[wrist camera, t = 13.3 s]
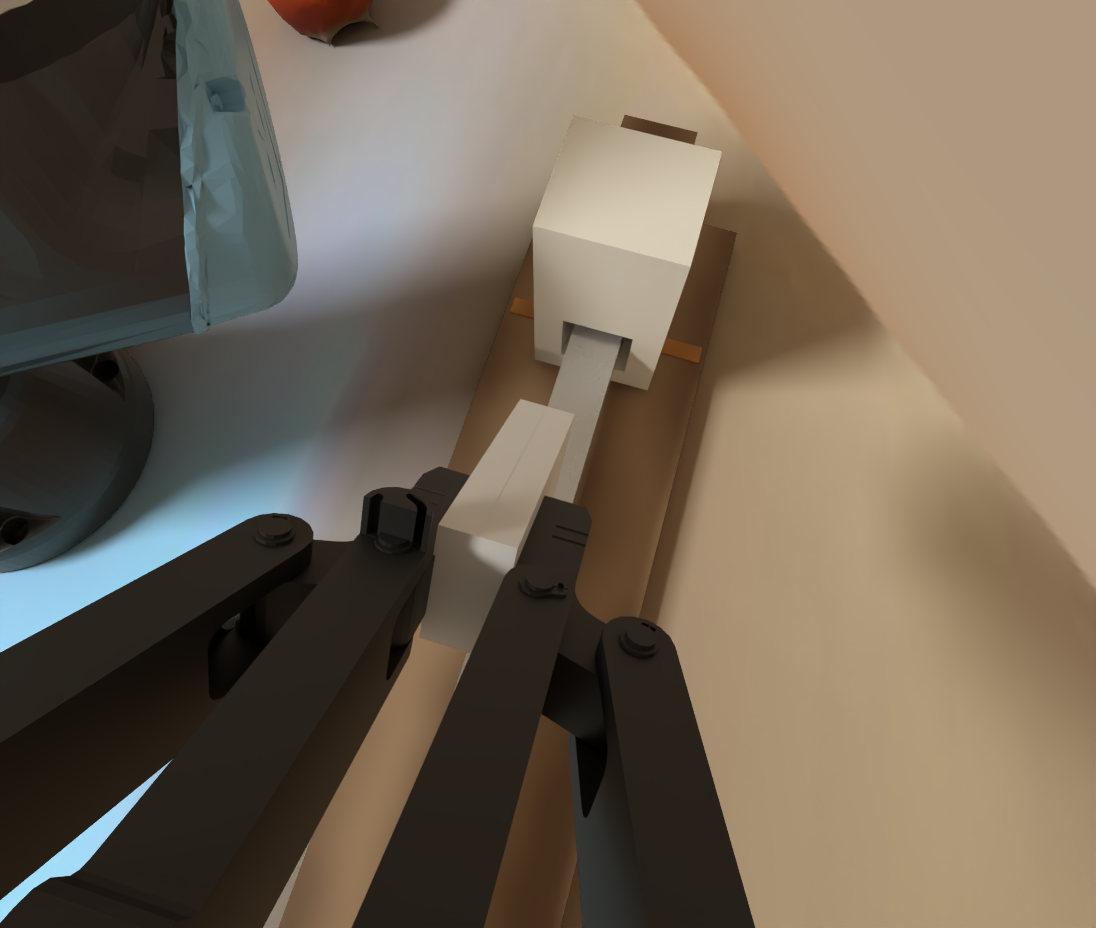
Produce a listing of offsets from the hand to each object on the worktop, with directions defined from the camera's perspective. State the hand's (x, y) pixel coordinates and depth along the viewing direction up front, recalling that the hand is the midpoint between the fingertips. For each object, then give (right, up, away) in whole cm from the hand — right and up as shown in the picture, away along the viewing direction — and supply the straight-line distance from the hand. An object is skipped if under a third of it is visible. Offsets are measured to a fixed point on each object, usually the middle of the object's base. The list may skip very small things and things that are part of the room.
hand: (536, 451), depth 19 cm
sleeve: (+4, +7, +21) cm, 23 cm away
